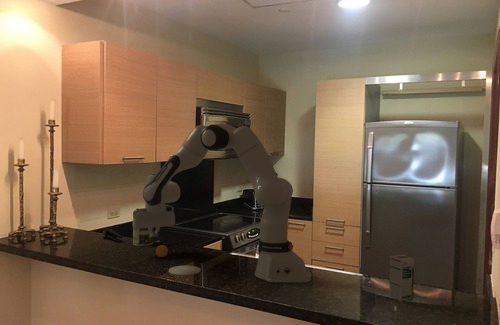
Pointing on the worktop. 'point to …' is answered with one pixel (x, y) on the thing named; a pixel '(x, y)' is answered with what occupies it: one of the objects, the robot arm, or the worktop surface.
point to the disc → (184, 270)
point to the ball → (161, 251)
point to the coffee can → (142, 237)
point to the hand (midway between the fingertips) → (153, 236)
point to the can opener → (111, 235)
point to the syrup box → (401, 277)
